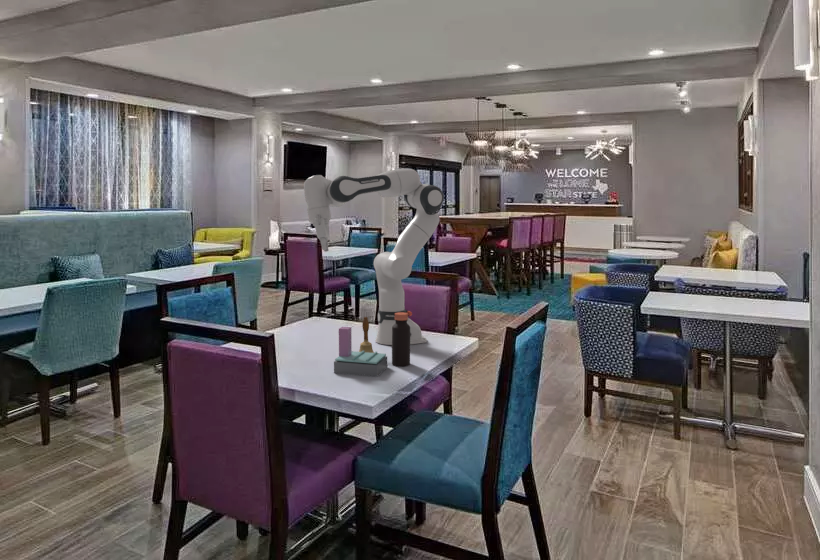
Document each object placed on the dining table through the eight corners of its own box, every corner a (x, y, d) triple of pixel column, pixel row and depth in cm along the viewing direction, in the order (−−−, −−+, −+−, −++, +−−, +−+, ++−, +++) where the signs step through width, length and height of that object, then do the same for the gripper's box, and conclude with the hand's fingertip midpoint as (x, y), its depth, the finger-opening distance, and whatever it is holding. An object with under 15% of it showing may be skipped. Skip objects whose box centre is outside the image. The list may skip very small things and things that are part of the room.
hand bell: (373, 360, 224) (373, 319, 221) (353, 358, 225) (352, 318, 223) (378, 354, 232) (378, 315, 230) (358, 353, 233) (358, 314, 231)
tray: (387, 369, 211) (387, 356, 211) (377, 378, 200) (377, 365, 199) (346, 365, 215) (345, 353, 214) (334, 375, 204) (333, 361, 203)
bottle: (413, 365, 217) (413, 312, 214) (405, 369, 211) (405, 315, 208) (396, 362, 220) (397, 311, 217) (388, 367, 214) (388, 314, 211)
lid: (386, 355, 210) (386, 326, 209) (376, 363, 199) (376, 333, 198) (346, 352, 214) (346, 324, 213) (334, 360, 203) (334, 331, 202)
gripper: (325, 211, 219) (331, 247, 219) (329, 218, 240) (334, 251, 240) (309, 214, 219) (315, 250, 219) (314, 220, 239) (319, 253, 239)
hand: (325, 250), depth 229 cm, fingers open, 8 cm apart
